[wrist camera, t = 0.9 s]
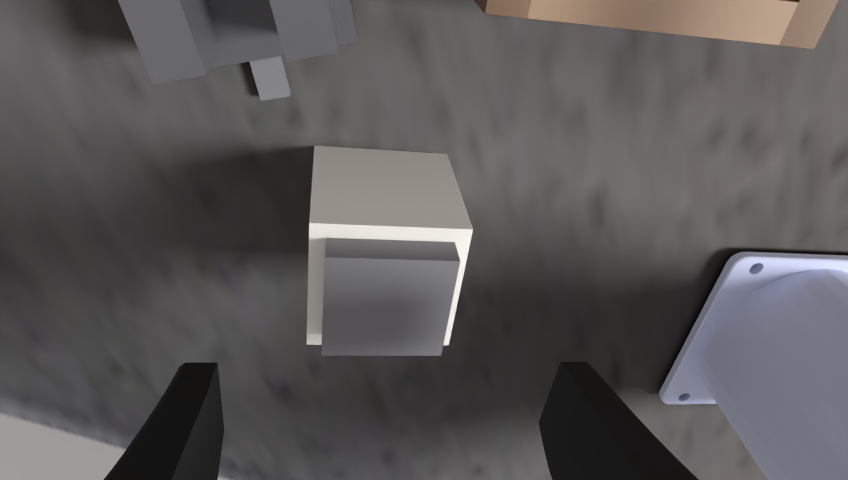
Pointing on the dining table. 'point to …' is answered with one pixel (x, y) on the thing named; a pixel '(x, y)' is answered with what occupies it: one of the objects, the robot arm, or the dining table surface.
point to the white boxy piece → (384, 252)
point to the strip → (270, 78)
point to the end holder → (686, 17)
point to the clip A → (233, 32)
